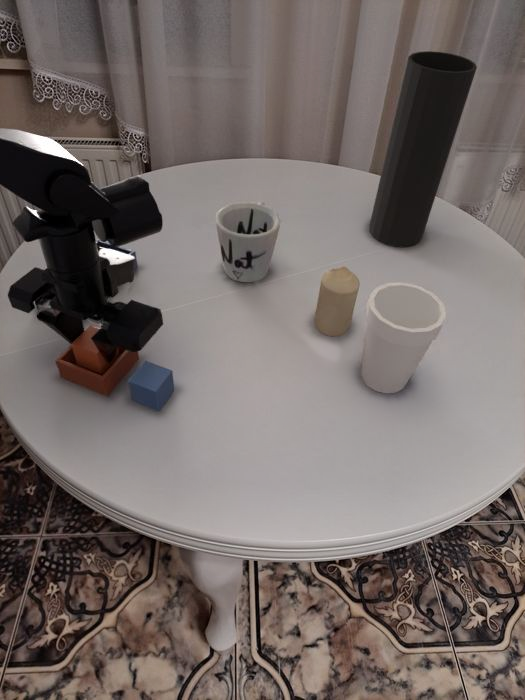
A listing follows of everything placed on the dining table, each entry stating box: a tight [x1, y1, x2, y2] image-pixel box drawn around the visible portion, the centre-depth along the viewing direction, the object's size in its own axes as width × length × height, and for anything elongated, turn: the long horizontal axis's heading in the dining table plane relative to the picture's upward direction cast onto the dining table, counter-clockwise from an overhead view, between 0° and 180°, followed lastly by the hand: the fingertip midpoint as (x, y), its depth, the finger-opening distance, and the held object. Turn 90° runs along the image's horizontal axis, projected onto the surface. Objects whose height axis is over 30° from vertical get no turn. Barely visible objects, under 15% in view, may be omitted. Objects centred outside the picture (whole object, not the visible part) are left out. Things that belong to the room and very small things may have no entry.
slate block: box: [128, 360, 175, 412], centre depth 66 cm, size 4×4×4 cm
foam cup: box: [361, 281, 447, 394], centre depth 67 cm, size 10×9×13 cm
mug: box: [214, 201, 282, 283], centre depth 86 cm, size 10×15×10 cm
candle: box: [313, 266, 361, 337], centre depth 75 cm, size 6×6×10 cm
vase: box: [368, 50, 478, 248], centre depth 88 cm, size 10×10×30 cm
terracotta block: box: [70, 325, 119, 374], centre depth 67 cm, size 4×4×4 cm
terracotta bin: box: [54, 344, 140, 398], centre depth 69 cm, size 8×8×3 cm
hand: (97, 355), depth 68 cm, fingers closed on terracotta block, 4 cm apart
